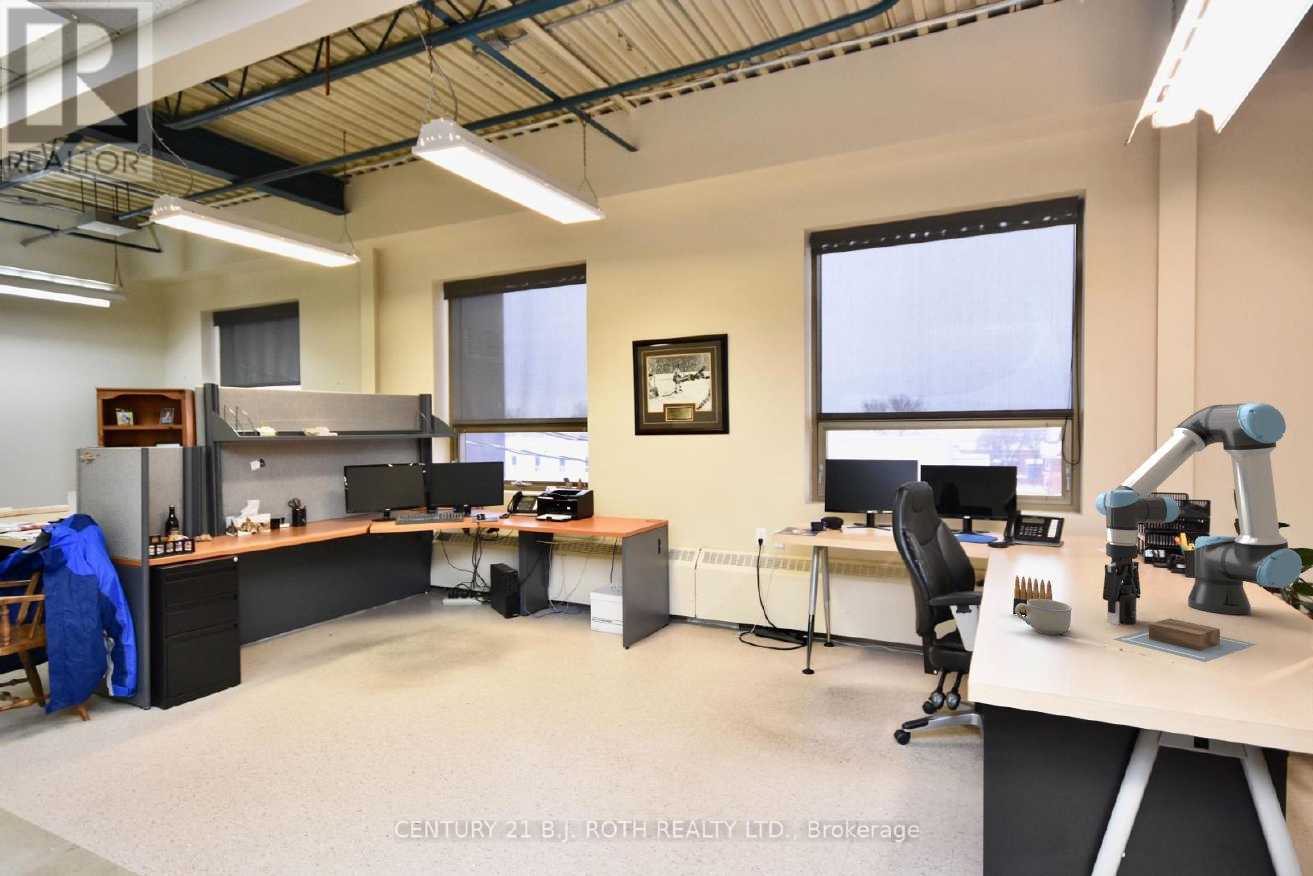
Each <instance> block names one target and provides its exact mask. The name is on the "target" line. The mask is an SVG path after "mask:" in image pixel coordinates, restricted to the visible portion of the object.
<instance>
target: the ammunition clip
mask: <svg viewBox="0 0 1313 876" xmlns="http://www.w3.org/2000/svg"><path fill="white" fill-rule="evenodd" d="M1013 589H1014V592H1013V596H1014V597H1013V602H1012V603H1013V605H1012V606H1013V608H1012V615H1013V614H1016V612H1015V608H1016V606H1017V605H1018V604H1021V603H1023V604H1026V605H1027V601H1028V600H1030V599H1046V600H1053V591H1052V583H1051V581H1050V579H1048V580H1047V583H1046V588H1045V581H1044V579H1043V578H1042V579H1041V581H1040V585H1039V582H1038V579H1037V578H1036V577H1035V579H1034V580H1033V582H1032V578H1031V577H1030V576H1029V577H1028V579H1027V584H1026V578H1025V576H1022V578H1021V583H1020V577H1019V576H1018V575H1016V577H1015V580H1014V588H1013ZM1020 614H1021V615H1025V616H1027V611H1026V608H1024V607H1022V608H1021V609H1020Z"/></svg>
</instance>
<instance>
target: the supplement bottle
mask: <svg viewBox="0 0 1313 876" xmlns="http://www.w3.org/2000/svg"><path fill="white" fill-rule="evenodd" d="M1131 591H1132V584H1129V583H1124V582H1123V581H1122V583H1121V587H1120V592H1119V596H1118V600H1117V602H1119V625H1128V626H1134V625H1137V598H1136V596H1135V595H1134V594H1133V593H1131Z"/></svg>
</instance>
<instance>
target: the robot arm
mask: <svg viewBox="0 0 1313 876" xmlns="http://www.w3.org/2000/svg"><path fill="white" fill-rule="evenodd" d="M1286 424H1287V423H1286V420H1285V418H1284V416H1283V414H1282V413H1281V412H1280V410H1279V409H1277V408H1276V407H1274V406H1273V405H1271V404H1269V403H1264V402H1263V403H1262V402H1244V403H1243V402H1242V403H1231V404H1230V403H1229V404H1214V405H1209V406H1207V407H1204V408H1202V409H1200V410H1197V411H1196V412H1194V413H1192V414H1191V415H1189V416H1188V417H1187V418H1186V419H1184V420H1183V421H1182V422H1180V423H1179V424H1178V425H1177V426H1176V427H1175V428H1173V430H1172V431H1171V434H1170V435H1171V436H1170V437H1169V438H1168V439H1167V440H1165V442H1164V443H1163V444H1162V445H1161V446H1160V447H1159V448H1158V449H1156V450H1155V452H1153V453H1152V454H1151V455H1149V457H1148V458H1147V459H1146V460H1144V462H1142V464H1140V465H1139V466H1138V467H1137V469H1135V470H1134V471H1132V473H1131V474H1130V475H1129V476H1128V477H1126V479H1125V480H1123V481H1122V483H1120V484H1119V485H1118V486H1117V487H1116V488H1115V489H1110V490H1108V491H1106V492H1101V493H1100V494H1098V495H1097V497H1096V499H1095V507H1096V510H1097V512H1098V513H1099V514H1101V515H1103V516H1105V523H1106V524H1105V525H1106V527H1105V532H1104V533H1105V534H1106V535H1105V536H1106V538H1105V540H1106V542H1107V543H1106V544H1105V555H1106V556H1107V557H1110V558H1111V561H1110V564H1105V565H1104V578H1103V579H1104V581H1103V588H1102V589H1103V591H1102V599H1103V600H1104V601H1107V623H1108V624H1112V625H1116V626H1119V625H1120V624H1119V602H1117V600H1118V596H1119V592H1120V587H1121V583H1122V582H1124V583H1129V584H1132V591H1131V593H1133V594H1134V595H1135V596H1136V599H1140V598H1141V583H1140V582H1141V581H1140V574H1139V573H1140V572H1139V564H1140V563H1139V562H1138V561H1133V560H1135V559H1138V557H1139V546H1138V545H1137V544H1138V543H1139V524H1141V523H1142V524H1143V523H1148V524H1149V523H1151V524H1153V523H1155V524H1156V523H1159V524H1160V523H1161V524H1164V523H1172V522H1175V520H1176V519H1177V518H1178V517H1179V515H1180V506H1179V504H1178V502H1177V501H1176V500H1175V499H1173V498H1172V497H1169V496H1160V495H1158V496H1150V495H1151V494H1152V493H1153V492H1155V491H1156V489H1157V488H1159V486H1161V485H1162V484H1163V483H1164V482H1165V481H1167V479H1168V478H1169V477H1170V476H1171V475H1172V474H1173V473H1175V472H1176V470H1178V469H1179V468H1180V467H1181V466H1182V465H1183V464H1184V463H1185V462H1186V461H1187V460H1188V459H1190V457H1191V456H1193V455H1194V454H1195V453H1197V452H1202V451H1203V450H1204V449H1206V448H1207V447H1209V446H1210V445H1213V444H1218V443H1222V444H1223V445H1222V446H1223V450H1224V451H1225V452H1226V453H1227V454H1229V455H1230V456H1231V465H1232V474H1233V482H1234V491H1235V499H1236V507H1237V515H1238V524H1239V533H1240V534H1238V536H1233V535H1230V536H1229V535H1228V536H1225V535H1224V536H1223V535H1222V536H1220V535H1219V536H1218V535H1217V536H1215V535H1212V536H1211V535H1210V536H1209V535H1208V536H1205V535H1204V536H1199V537H1197V538H1196V539H1195V541H1194V543H1195V544H1194V547H1193V548H1194V549H1193V550H1194V583H1193V586H1192V588H1191V590H1190V593H1189V595H1188V599H1187V605H1188V606H1189V607H1191V608H1194V609H1196V610H1200V611H1205V612H1210V613H1216V614H1225V615H1238V614H1239V616H1240V615H1241V616H1242V615H1250V614H1251V613H1252V609H1251V608H1252V607H1251V603H1250V601H1249V598H1248V595H1247V593H1246V590H1245V588H1244V582H1245V583H1251V584H1255V585H1259V586H1263V587H1267V588H1269V587H1271V588H1276V589H1277V588H1278V589H1280V588H1281V589H1282V588H1285V587H1288V586H1290V585H1292V584H1293V583H1295V581H1296V580H1297V579H1298V578H1299V576H1300V575H1301V572H1302V567H1303V563H1302V558H1301V556H1300V555H1299V554H1298V553H1297V552H1296V551H1295V550H1293V549H1292V548H1291V549H1290V548H1289V543H1288V539H1287V538H1285V537H1284V536H1283V535H1281V534H1280V527H1279V518H1278V510H1277V499H1276V491H1275V484H1274V476H1273V467H1272V460H1271V458H1272V457H1271V453H1272V452H1273V451H1275V449H1276V448H1277V442H1278V441H1280V440H1281V439H1282V438H1283V437H1284V434H1285V433H1286V427H1287V425H1286Z"/></svg>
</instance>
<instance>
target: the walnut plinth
mask: <svg viewBox="0 0 1313 876" xmlns="http://www.w3.org/2000/svg"><path fill="white" fill-rule="evenodd" d="M1148 630H1149V639H1151V640H1155V641H1159V642H1164V643H1168V644H1172V645H1176V646H1181V647H1185V648H1189V649H1193V650H1198V651H1200V650H1204V649H1207V648H1210V647H1213V646H1216V645H1219V644H1220V637H1221V632H1220V631H1221V629H1220V628H1218V627H1213V626H1209V625H1203V624H1199V623H1194V622H1190V621H1184V620H1180V619H1174V618H1166V619H1162V620H1159V621H1154V622H1151V623H1148Z"/></svg>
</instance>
